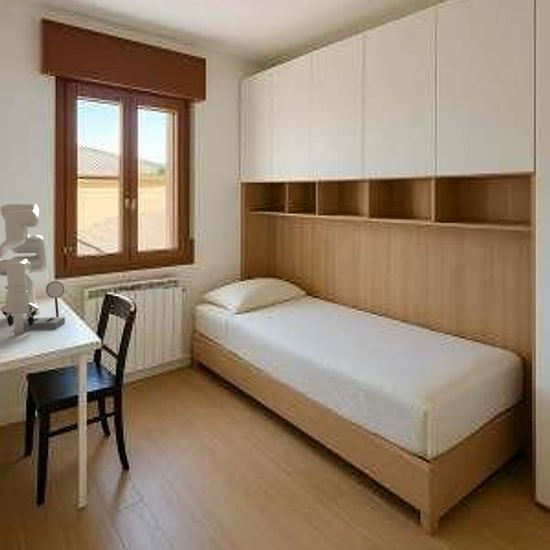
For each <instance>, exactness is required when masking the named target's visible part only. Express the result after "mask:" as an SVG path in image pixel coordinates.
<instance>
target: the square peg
mask: <svg viewBox="0 0 550 550" xmlns="http://www.w3.org/2000/svg"><path fill="white" fill-rule="evenodd" d="M12 316H13V325H14V334H15V335H24V333H25V334H26V333H28V332H29V329H28V324H27V318H28V316H27V313H15V314H12Z"/></svg>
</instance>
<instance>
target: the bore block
mask: <svg viewBox="0 0 550 550" xmlns="http://www.w3.org/2000/svg"><path fill="white" fill-rule="evenodd" d="M33 318H34V323H33V325H31V326H29V323H28V317H27V324H28V330H57V329H58V328H59V326H60V327H61V326H63V325H65V323H66V320H65V319H66V317H65V316H59V317H56V316H55V317H54V316H53V317H50V316H49V317H48V316H47V317H33ZM62 324H63V325H62Z"/></svg>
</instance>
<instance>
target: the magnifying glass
mask: <svg viewBox="0 0 550 550" xmlns="http://www.w3.org/2000/svg"><path fill="white" fill-rule="evenodd" d="M45 292H46V294H47V296H48V297H50V298H52V299H54V304H55V305H54V306H55V317H60V315H59V303H58V298H60V297H61V296H62V295H64V292H65V286H64V285H63V283H62V282H61V281H57V280H56V281H55V280H53V281H50V282H49V283H48V284H47V286H46V288H45Z"/></svg>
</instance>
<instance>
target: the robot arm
mask: <svg viewBox="0 0 550 550" xmlns="http://www.w3.org/2000/svg"><path fill="white" fill-rule="evenodd" d="M0 215H1V217H2V218H3V220H4V226H5V227H4V228H5V240H4V241H3V242H2V243H1V244H0V277H6V279H7V285H5V287H4V288H5V290H7V291H6V293H5V294H6V295H5V304H4V305H3V306H2V307H0V311H1V313H2V314H3V315H4V316H5V318H6V320H7V324H8V327H11V326H13V325H14V316H13V314H15V313H27V318H28V323H29V326H31V325H33V323H34V318H35V317H34V316H35V315H38V314H39V313H40V310H39V309H40V308H39V306H38V305H39V304H38V303H37V302H36V294H35V293H36V292H35V281H34V280H33V278H32V277H31V276H30V275H29V274H36V273H37V274H38V273H45V272H46V271H47V268H48V264H47V263H48V260H47V253H46V243H45V239H44V237H43V236H42V235H38V234H29V231H28V228H35V227H36V228H37V227H38V226H39V222H40V209H39V207H38V205H37V204H35V203H8V204H3V205H2V206H0ZM10 250H12V252H13V253H14V254H31V255H16V256H13V257H12V258H11V259H3V257H4V255H5V254H6V253H7V252H9V251H10Z"/></svg>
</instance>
